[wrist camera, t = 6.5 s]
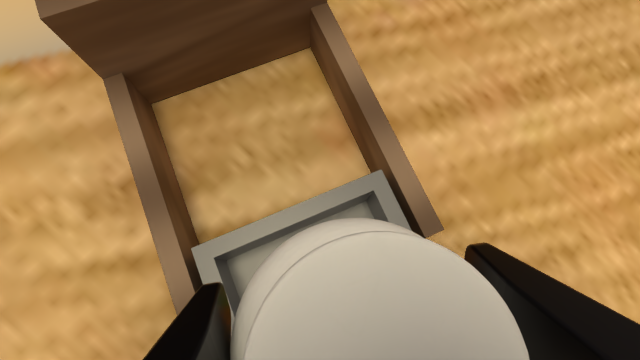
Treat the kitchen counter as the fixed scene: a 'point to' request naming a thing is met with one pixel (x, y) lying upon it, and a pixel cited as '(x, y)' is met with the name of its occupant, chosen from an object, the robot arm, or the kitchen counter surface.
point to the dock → (205, 67)
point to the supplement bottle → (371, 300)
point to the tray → (290, 232)
